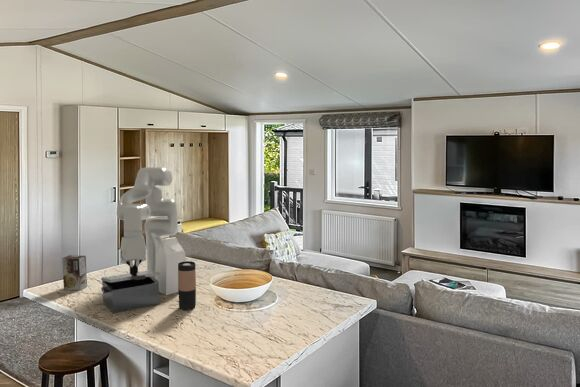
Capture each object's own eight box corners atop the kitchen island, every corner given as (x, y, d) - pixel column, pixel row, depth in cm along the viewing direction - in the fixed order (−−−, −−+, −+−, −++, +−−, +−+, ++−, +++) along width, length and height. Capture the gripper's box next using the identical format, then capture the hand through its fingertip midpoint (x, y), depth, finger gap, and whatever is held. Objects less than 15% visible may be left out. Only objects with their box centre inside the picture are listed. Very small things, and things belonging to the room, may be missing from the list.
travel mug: (180, 304, 203) (179, 261, 200) (197, 304, 203) (196, 261, 201) (177, 310, 195) (176, 265, 193) (195, 310, 196) (194, 265, 193)
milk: (175, 284, 232) (174, 234, 229) (187, 289, 224) (187, 238, 221) (154, 289, 223) (153, 238, 221) (166, 294, 215) (165, 241, 212)
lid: (147, 273, 216) (147, 270, 216) (164, 275, 196) (164, 271, 196) (101, 280, 204) (101, 277, 204) (114, 283, 184) (114, 279, 184)
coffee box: (87, 286, 227) (86, 255, 225) (80, 290, 220) (79, 258, 219) (70, 285, 228) (69, 254, 226) (63, 289, 221) (61, 257, 219)
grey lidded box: (150, 292, 219) (150, 272, 218) (163, 303, 204) (162, 281, 203) (98, 301, 205) (97, 280, 204) (108, 314, 190) (107, 291, 189)
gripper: (147, 231, 203) (148, 271, 204) (112, 234, 194) (113, 275, 196) (152, 233, 197) (153, 274, 198) (117, 236, 188) (118, 279, 190)
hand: (133, 275), depth 197 cm, fingers closed
